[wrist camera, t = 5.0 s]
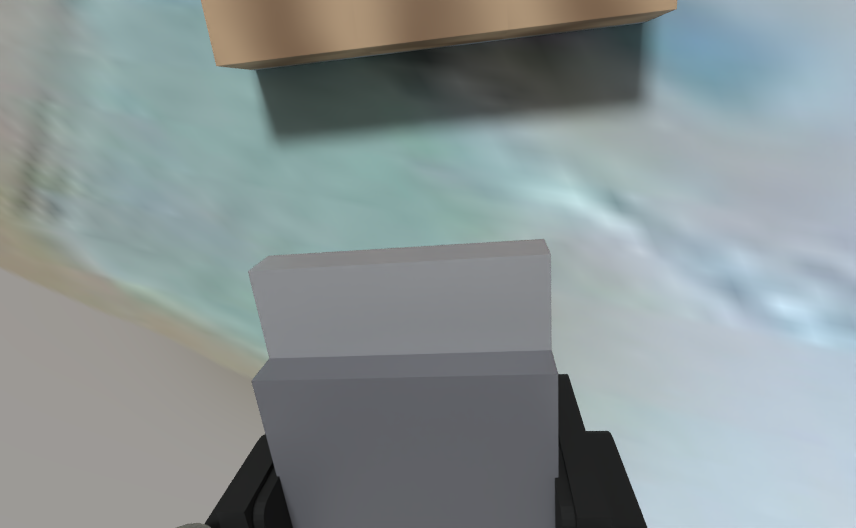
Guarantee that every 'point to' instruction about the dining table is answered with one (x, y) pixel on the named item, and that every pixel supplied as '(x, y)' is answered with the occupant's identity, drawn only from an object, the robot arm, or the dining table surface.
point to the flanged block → (411, 385)
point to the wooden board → (395, 25)
